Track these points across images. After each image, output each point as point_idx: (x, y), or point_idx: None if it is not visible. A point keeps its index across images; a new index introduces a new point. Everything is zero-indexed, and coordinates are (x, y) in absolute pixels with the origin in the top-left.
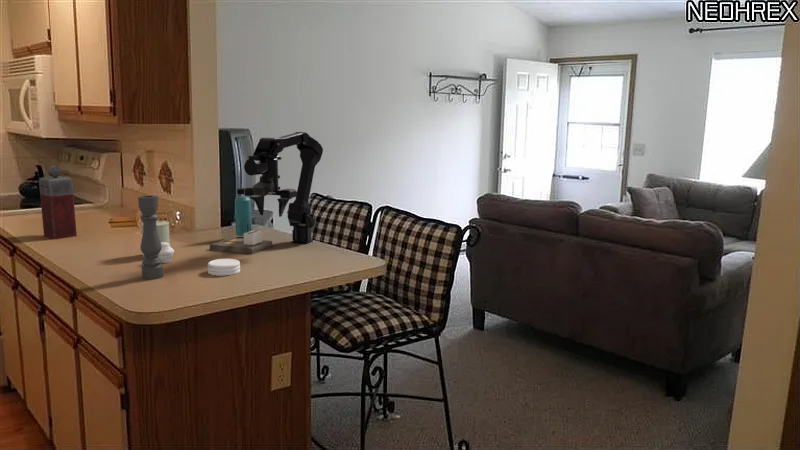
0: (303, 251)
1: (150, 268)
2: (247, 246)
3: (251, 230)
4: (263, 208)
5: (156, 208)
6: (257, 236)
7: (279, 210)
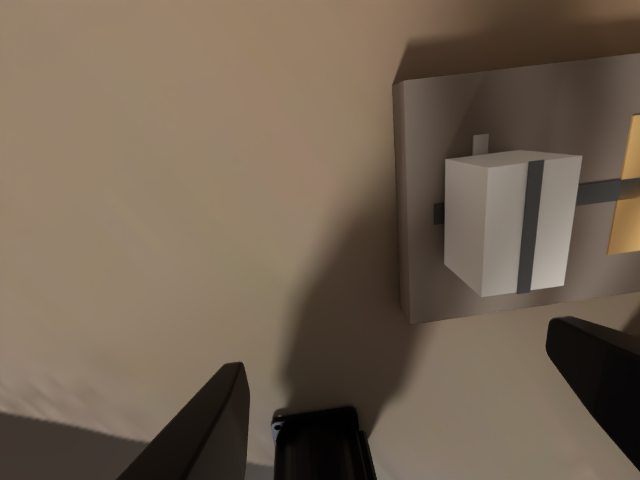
0: (169, 293)
1: None
2: (469, 120)
3: None
4: (635, 457)
5: None
6: (468, 227)
7: (187, 441)
